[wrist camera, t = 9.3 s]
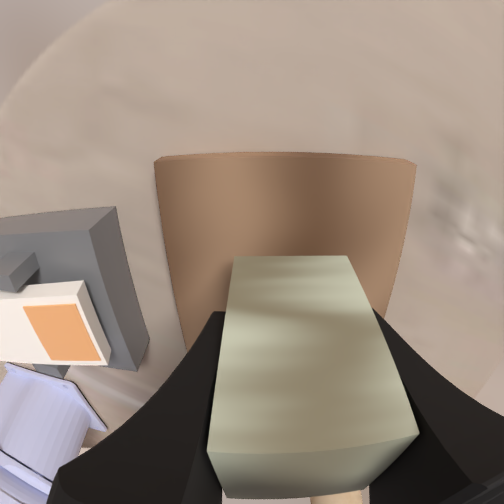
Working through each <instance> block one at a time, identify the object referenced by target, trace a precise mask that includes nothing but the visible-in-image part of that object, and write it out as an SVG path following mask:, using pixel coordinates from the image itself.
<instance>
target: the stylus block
mask: <svg viewBox="0 0 504 504" xmlns="http://www.w3.org/2000/svg"><path fill="white" fill-rule="evenodd" d="M419 434H420V433H419V430H418V427H417V424H416V421H415V418H414V415H413V412H412V409H411V406H410V403H409V400H408V398H407V395H406V392H405V389H404V387H403V384H402V381H401V378H400V376H399V373H398V371H397V368H396V365H395V363H394V360H393V358H392V355H391V353H390V350H389V348H388V345H387V343H386V341H385V338H384V336H383V333H382V331H381V329H380V326H379V324H378V322H377V319H376V317H375V315H374V312H373V310H372V308H371V306H370V303H369V301H368V299H367V297H366V295H365V292H364V290H363V288H362V286H361V284H360V282H359V280H358V277H357V275H356V273H355V271H354V269H353V267H352V265H351V263H350V261H349V259H348V257H347V256H234V262H233V268H232V275H231V281H230V288H229V295H228V301H227V308H226V315H225V321H224V328H223V335H222V342H221V349H220V356H219V363H218V370H217V378H216V385H215V392H214V400H213V407H212V415H211V422H210V430H209V438H208V446H207V453H208V456H209V458H210V460H211V463H212V465H213V468H214V470H215V472H216V475H217V477H218V479H219V482H220V484H221V486H222V488H223V490H224V492H225V495H226V497H227V498H235V499H287V498H303V497H315V496H324V495H333V494H340V493H346V492H352V491H358V490H363V489H365V488H366V487H367V486H368V485H369V484H370V483H372V482H373V481H374V480H375V479H376V478H377V477H378V476H379V475H380V474H381V473H382V472H383V471H384V470H386V469H387V468H388V467H389V466H390V465H391V464H392V463H393V462H394V461H395V460H396V459H397V458H398V457H399V456H400V454H401V453H402V452H403V451H404V450H405V449H406V448H407V447H408V446H409V445H410V444H411V443H412V442H413V440H414V439H415V438H416V437H417V436H418V435H419Z"/></svg>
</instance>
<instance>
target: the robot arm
mask: <svg viewBox="0 0 504 504" xmlns="http://www.w3.org/2000/svg"><path fill="white" fill-rule="evenodd" d="M372 310H373V312H374V315H375V317H376V319H377V322H378V324H379V326H380V329H381V331H382V333H383V336H384V338H385V341H386V343H387V345H388V348H389V350H390V353H391V355H392V358H393V360H394V363H395V365H396V368H397V371H398V373H399V376H400V378H401V381H402V384H403V387H404V389H405V392H406V395H407V398H408V400H409V403H410V406H411V409H412V412H413V415H414V418H415V421H416V424H417V427H418V430H419V433H420V434H419V435H418V436H417V437H416V438H415V439H414V440H413V442H412V443H411V444H410V445H409V446H408V447H407V448H406V449H405V450H404V451H403V452H402V453H401V454H400V456H399V457H398V458H397V459H396V460H395V461H394V462H393V463H392V464H391V465H390V466H389V467H388V468H387V469H386V470H384V471H383V472H382V473H381V474H380V475H379V476H378V477H377V478H376V479H375V480H374V481H373V482H372V483H370V484H369V495H370V504H504V416H501V415H500V414H498V413H496V412H494V411H492V410H490V409H489V408H487V407H485V406H483V405H482V404H480V403H479V402H477V401H476V400H474V399H473V398H471V397H470V396H468V395H467V394H465V393H464V392H462V391H461V390H460V389H458V388H457V387H456V386H454V385H453V384H452V383H451V382H449V381H448V380H447V379H445V378H444V377H443V376H442V375H441V374H439V373H438V372H437V371H436V370H435V369H434V368H433V367H431V366H430V365H429V364H428V363H427V362H426V361H425V360H424V359H423V358H422V357H421V356H420V355H418V354H417V353H416V352H415V351H414V350H413V349H412V348H411V347H410V346H409V345H408V344H407V343H406V342H405V341H404V340H403V339H402V338H401V337H400V336H399V334H398V333H397V332H396V331H395V330H394V329H393V328H392V327H391V326H390V325H389V324H388V323H387V322H386V321H385V320H384V319H383V318H382V317H381V316H380V315H379V314H378V313H377V312H376V311H375V310H374V309H373V308H372ZM225 315H226V311H214V312H213V313H211V315H210V317H209V319H208V321H207V322H206V324H205V326H204V328H203V329H202V331H201V333H200V334H199V336H198V338H197V339H196V341H195V342H194V344H193V345H192V347H191V348H190V350H189V351H188V353H187V354H186V356H185V357H184V358H183V360H182V361H181V363H180V364H179V365H178V366H177V368H176V369H175V370H174V372H173V373H172V374H171V375H170V377H169V378H168V379H167V380H166V382H165V383H164V384H163V385H162V386H161V387H160V389H159V390H158V391H157V392H156V393H155V394H154V395H153V396H152V397H151V398H150V399H149V400H148V402H147V403H146V404H145V405H144V406H142V407H141V408H140V409H139V410H138V411H137V412H136V413H135V414H134V415H133V416H132V417H131V418H130V419H129V420H127V421H126V422H125V423H124V424H123V425H122V426H120V427H119V428H118V429H117V430H115V431H114V432H113V433H111V434H110V435H109V436H108V437H106V438H105V439H104V440H102V441H101V442H100V443H98V444H97V445H95V446H94V447H93V448H91V449H90V450H88V451H86V452H85V453H83V454H81V455H80V456H78V455H79V452H80V449H81V446H82V444H83V441H84V438H85V435H86V433H87V430H88V428H92V429H96V430H99V431H103V432H105V431H106V430H107V428H106V426H105V425H104V424H103V422H102V421H101V420H100V419H99V417H98V416H97V415H96V413H95V412H94V411H93V409H92V408H91V407H90V405H89V404H88V402H87V401H86V400H85V398H84V397H83V395H82V394H81V392H80V391H79V390H78V388H77V387H76V385H75V384H74V383H72V382H70V381H66V380H62V379H58V378H55V377H51V376H48V375H44V374H41V373H37V372H34V371H31V370H28V369H25V368H22V367H19V366H16V365H13V364H10V363H5V365H4V366H5V368H6V369H7V371H8V373H7V374H6V376H5V377H4V379H3V381H2V382H1V384H0V504H222V486H221V484H220V482H219V479H218V477H217V475H216V472H215V470H214V468H213V465H212V463H211V460H210V458H209V456H208V453H207V446H208V438H209V430H210V422H211V415H212V407H213V400H214V392H215V385H216V378H217V370H218V363H219V356H220V349H221V342H222V335H223V328H224V321H225Z"/></svg>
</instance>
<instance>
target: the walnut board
mask: <svg viewBox="0 0 504 504" xmlns="http://www.w3.org/2000/svg"><path fill="white" fill-rule="evenodd" d="M416 166H417V165H416V164H414V163H412V162H410V161H408V160H405V159H396V158H386V157H375V156H363V155H349V154H332V153H307V152H236V153H210V154H193V155H179V156H166V157H161V158H159V159H158V160H156V161H155V162H154V169H155V177H156V186H157V193H158V201H159V208H160V215H161V222H162V228H163V235H164V241H165V247H166V253H167V259H168V264H169V270H170V275H171V280H172V285H173V290H174V295H175V300H176V305H177V310H178V314H179V319H180V323H181V328H182V332H183V336H184V341H185V345H186V349H187V353H188V351H189V350H190V348H191V347H192V345H193V344H194V342H195V341H196V339H197V338H198V336H199V334H200V333H201V331H202V329H203V328H204V326H205V324H206V322H207V321H208V319H209V317H210V315H211V313H213V312H214V311H226V308H227V301H228V295H229V288H230V281H231V275H232V268H233V262H234V256H347V257H348V259H349V261H350V263H351V265H352V267H353V269H354V271H355V273H356V275H357V277H358V280H359V282H360V284H361V286H362V288H363V290H364V292H365V295H366V297H367V299H368V301H369V303H370V306H371V308H373V309H374V310H375V311H376V312H377V313H378V314H379V315H380V316H381V317H382V318H383V319H384V316H385V313H386V310H387V306H388V303H389V300H390V296H391V292H392V289H393V285H394V281H395V278H396V274H397V270H398V266H399V261H400V257H401V253H402V248H403V244H404V239H405V234H406V229H407V224H408V219H409V213H410V208H411V202H412V195H413V189H414V182H415V174H416Z"/></svg>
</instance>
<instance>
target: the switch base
mask: <svg viewBox="0 0 504 504" xmlns="http://www.w3.org/2000/svg"><path fill="white" fill-rule="evenodd" d="M81 280H84V283H85V285H86V288H87V291H88V294H89V297H90V299H91V302H92V305H93V307H94V310H95V312H96V315H97V317H98V320H99V322H100V325H101V327H102V330H103V332H104V334H105V337H106V339H107V341H108V344H109V346H110V348H111V354H110V358H109V363H108V365H98V366H103V367H109V368H116V369H122V370H129V371H138V369H139V366H140V363H141V361H142V358H143V355H144V353H145V350H146V347H147V345H148V342H149V340H150V339H149V335H148V332H147V329H146V326H145V323H144V320H143V317H142V313H141V310H140V307H139V303H138V300H137V296H136V293H135V289H134V285H133V282H132V278H131V274H130V270H129V266H128V262H127V258H126V254H125V250H124V245H123V241H122V236H121V232H120V227H119V222H118V217H117V212H116V206H115V207H101V208H89V209H77V210H67V211H57V212H47V213H38V214H29V215H21V216H13V217H5V218H0V290H1V291H9V292H17V291H18V289H19V288H20V287H21V286H23V285H35V284H47V283H58V282H70V281H81ZM32 364H33V363H32ZM33 366H34V367H35V369H36V370H37V372H41V373H44V374H48V375H51V376H55V377H59V378H62V379H63V378H64V376H65V375H66V373H67V371H68V369H69V367H70V365H51V364H33Z"/></svg>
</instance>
